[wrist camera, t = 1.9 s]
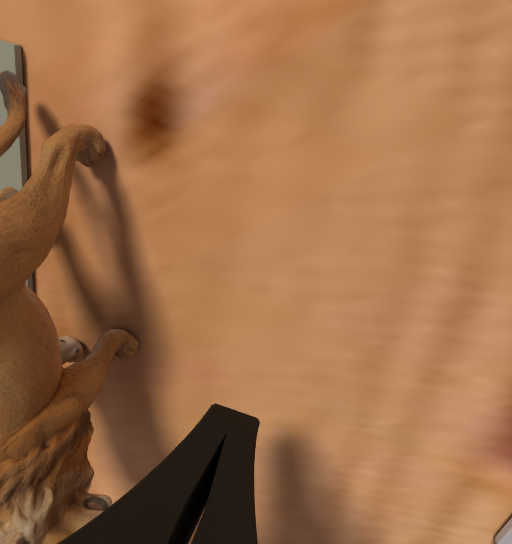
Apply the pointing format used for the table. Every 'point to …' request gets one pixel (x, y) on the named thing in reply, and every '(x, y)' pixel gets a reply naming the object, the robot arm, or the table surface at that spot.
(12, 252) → the lion figurine
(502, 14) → the table surface
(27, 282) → the mat
